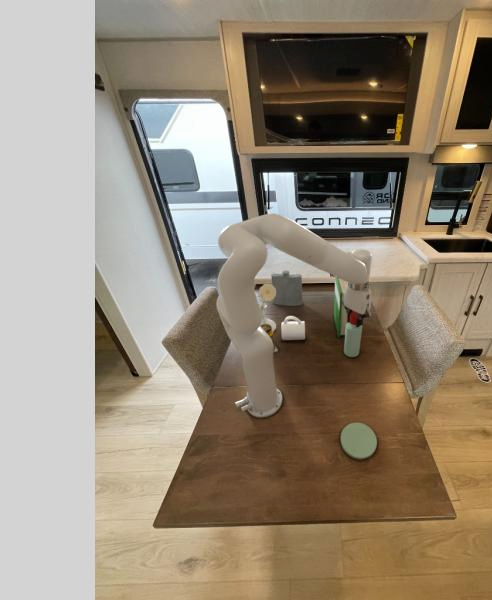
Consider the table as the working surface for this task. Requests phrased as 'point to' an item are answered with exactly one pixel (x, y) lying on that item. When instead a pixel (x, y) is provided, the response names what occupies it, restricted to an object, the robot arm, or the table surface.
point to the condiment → (268, 330)
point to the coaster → (358, 440)
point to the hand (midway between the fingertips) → (354, 323)
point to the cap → (353, 318)
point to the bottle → (352, 340)
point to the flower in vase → (267, 295)
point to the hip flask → (287, 289)
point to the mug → (293, 329)
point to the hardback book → (340, 306)
